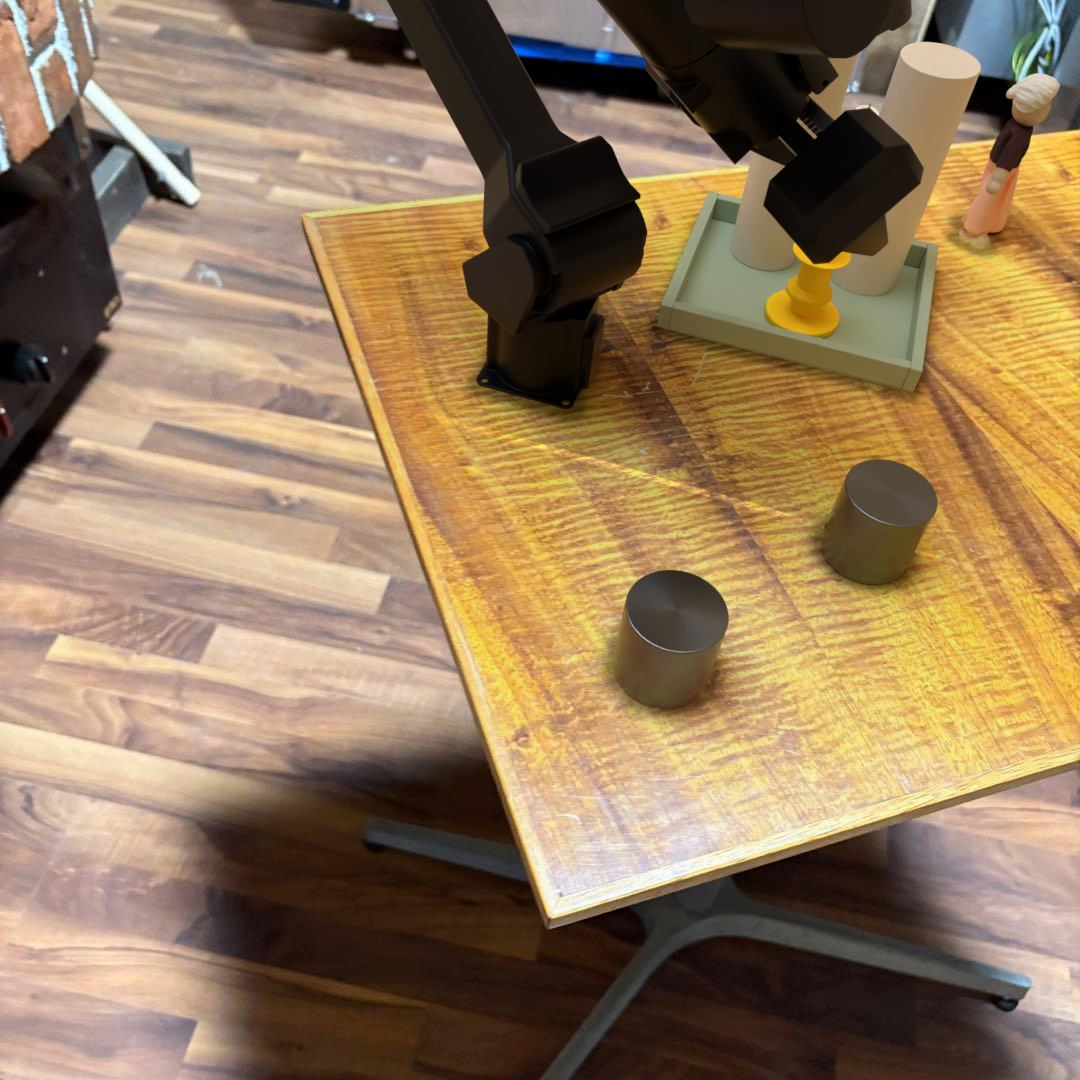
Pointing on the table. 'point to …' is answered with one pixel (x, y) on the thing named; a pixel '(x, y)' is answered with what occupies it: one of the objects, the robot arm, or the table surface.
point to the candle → (808, 295)
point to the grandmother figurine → (1008, 157)
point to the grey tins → (701, 613)
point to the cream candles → (918, 117)
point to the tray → (742, 292)
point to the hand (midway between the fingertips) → (835, 202)
